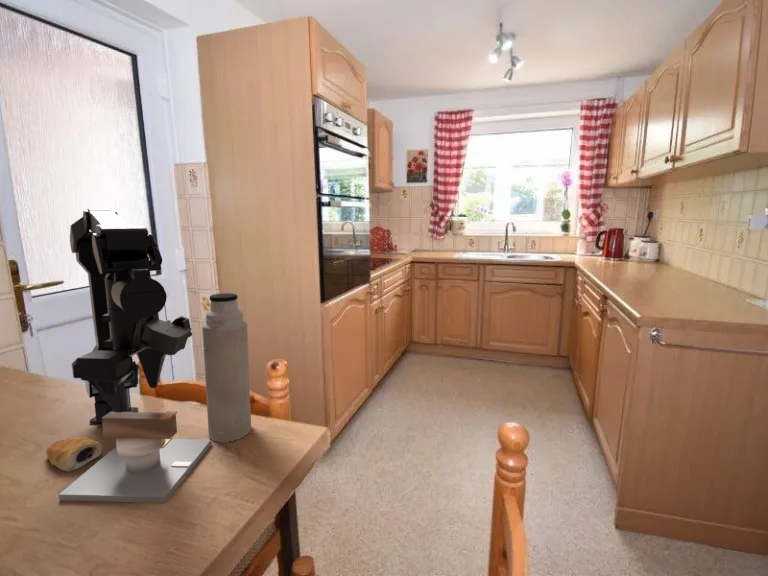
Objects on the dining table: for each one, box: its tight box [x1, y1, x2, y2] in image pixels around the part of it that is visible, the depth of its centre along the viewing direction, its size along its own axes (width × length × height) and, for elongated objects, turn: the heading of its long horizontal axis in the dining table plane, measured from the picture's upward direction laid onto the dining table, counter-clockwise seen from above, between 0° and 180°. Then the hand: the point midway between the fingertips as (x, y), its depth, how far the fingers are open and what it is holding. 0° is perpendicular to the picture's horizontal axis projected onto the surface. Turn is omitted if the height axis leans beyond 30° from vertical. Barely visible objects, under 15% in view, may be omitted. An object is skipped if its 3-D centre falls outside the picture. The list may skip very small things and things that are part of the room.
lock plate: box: [58, 437, 212, 504], centre depth 68 cm, size 16×16×4 cm
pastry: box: [45, 436, 104, 472], centre depth 72 cm, size 9×7×4 cm
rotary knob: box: [101, 410, 178, 458], centre depth 68 cm, size 7×11×6 cm, turn 89°
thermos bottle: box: [201, 292, 252, 443], centre depth 79 cm, size 8×8×28 cm
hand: (137, 399), depth 67 cm, fingers open, 9 cm apart
